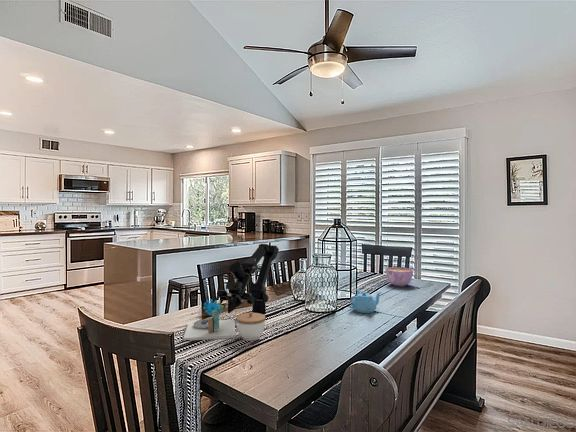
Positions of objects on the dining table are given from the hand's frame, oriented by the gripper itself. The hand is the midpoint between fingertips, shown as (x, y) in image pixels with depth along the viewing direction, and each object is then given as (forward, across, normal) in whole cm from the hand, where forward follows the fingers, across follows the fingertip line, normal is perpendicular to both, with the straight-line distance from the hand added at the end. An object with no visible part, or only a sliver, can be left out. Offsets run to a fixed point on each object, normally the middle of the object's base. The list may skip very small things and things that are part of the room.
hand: (228, 312), depth 168 cm
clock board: (+9, -6, +1) cm, 11 cm away
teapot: (-34, +51, +47) cm, 77 cm away
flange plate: (+8, -8, 0) cm, 11 cm away
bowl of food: (-85, +57, +100) cm, 144 cm away
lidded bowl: (+10, +16, +1) cm, 18 cm away
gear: (-5, -20, +17) cm, 27 cm away
